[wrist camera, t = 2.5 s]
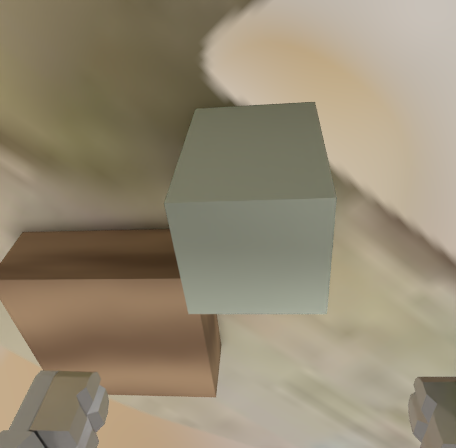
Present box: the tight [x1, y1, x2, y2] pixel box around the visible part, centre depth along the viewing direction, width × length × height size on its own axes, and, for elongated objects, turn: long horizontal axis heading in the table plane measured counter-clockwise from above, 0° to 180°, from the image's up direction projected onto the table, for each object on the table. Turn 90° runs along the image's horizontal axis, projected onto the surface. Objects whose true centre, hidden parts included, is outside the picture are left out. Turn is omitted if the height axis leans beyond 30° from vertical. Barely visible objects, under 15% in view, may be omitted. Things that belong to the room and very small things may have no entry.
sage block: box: [164, 102, 337, 314], centre depth 16 cm, size 5×5×7 cm
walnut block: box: [0, 229, 221, 397], centre depth 24 cm, size 10×10×4 cm
